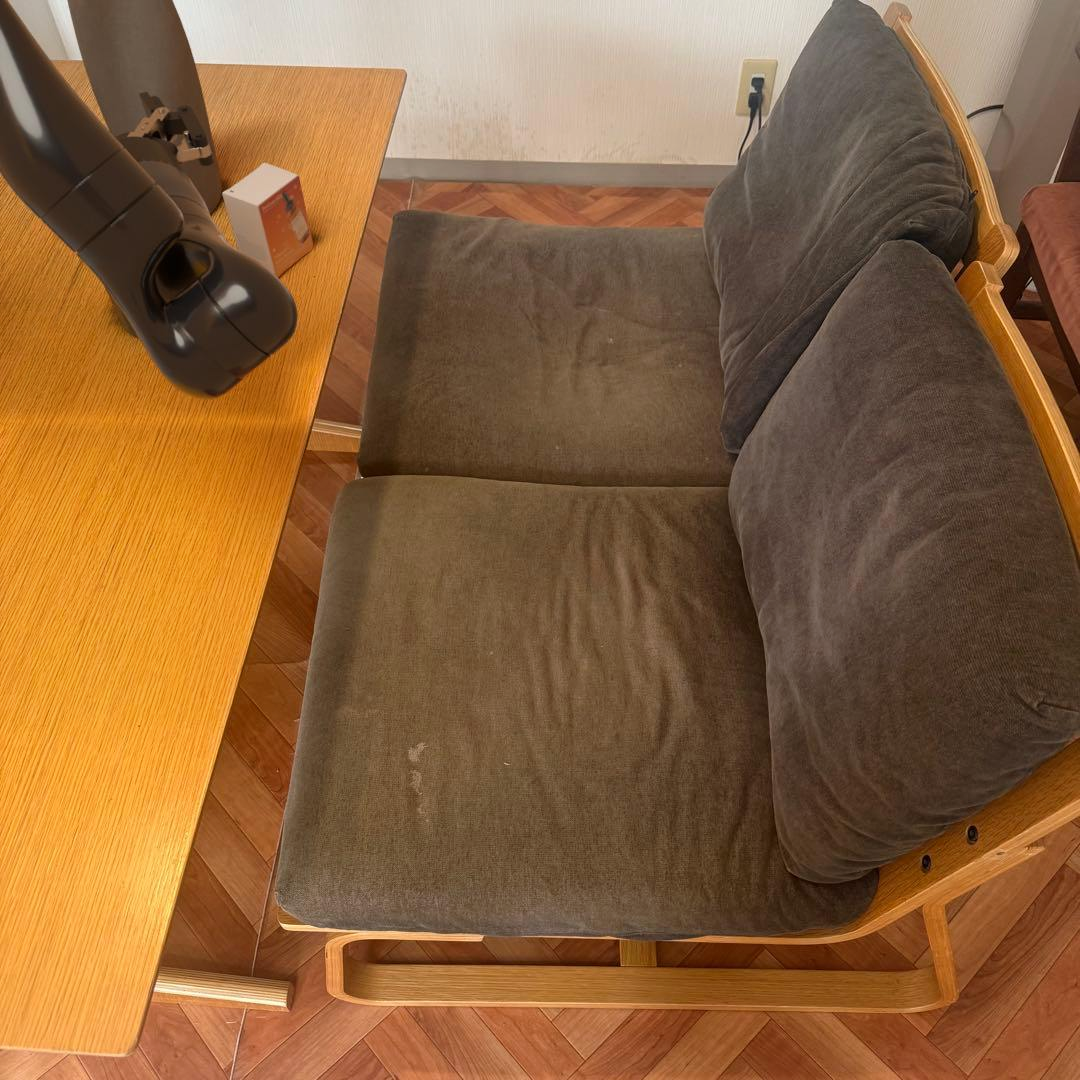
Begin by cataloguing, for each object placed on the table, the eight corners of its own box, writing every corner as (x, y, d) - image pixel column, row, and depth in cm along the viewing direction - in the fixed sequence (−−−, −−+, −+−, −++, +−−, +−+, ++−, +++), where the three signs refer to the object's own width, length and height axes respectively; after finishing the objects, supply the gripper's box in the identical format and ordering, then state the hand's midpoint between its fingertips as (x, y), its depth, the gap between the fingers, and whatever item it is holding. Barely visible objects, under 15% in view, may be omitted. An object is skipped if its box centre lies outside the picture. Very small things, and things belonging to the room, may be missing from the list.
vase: (229, 175, 126) (160, -67, 102) (239, 225, 119) (168, -22, 95) (138, 188, 124) (47, -55, 100) (143, 240, 117) (46, -8, 93)
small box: (276, 281, 113) (256, 206, 104) (241, 266, 114) (219, 192, 106) (315, 247, 117) (300, 173, 108) (281, 234, 118) (263, 160, 110)
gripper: (227, 139, 70) (163, 52, 78) (39, 190, 66) (-7, 91, 74) (249, 223, 76) (189, 134, 84) (79, 275, 72) (32, 175, 80)
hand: (97, 114), depth 79 cm, fingers open, 8 cm apart
